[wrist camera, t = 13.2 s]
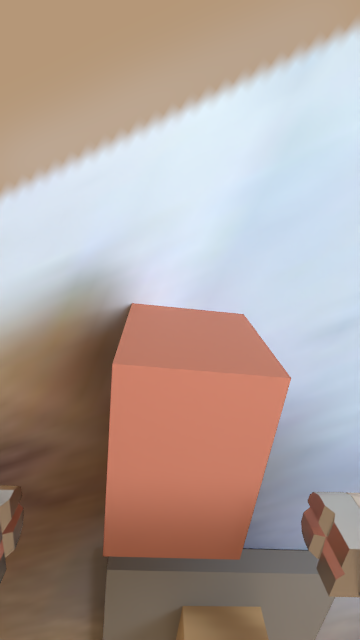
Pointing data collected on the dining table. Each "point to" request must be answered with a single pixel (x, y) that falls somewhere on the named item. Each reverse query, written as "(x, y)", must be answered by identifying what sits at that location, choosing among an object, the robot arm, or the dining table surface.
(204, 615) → the oak brick
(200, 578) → the baseplate
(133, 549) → the red brick
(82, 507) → the dining table surface
